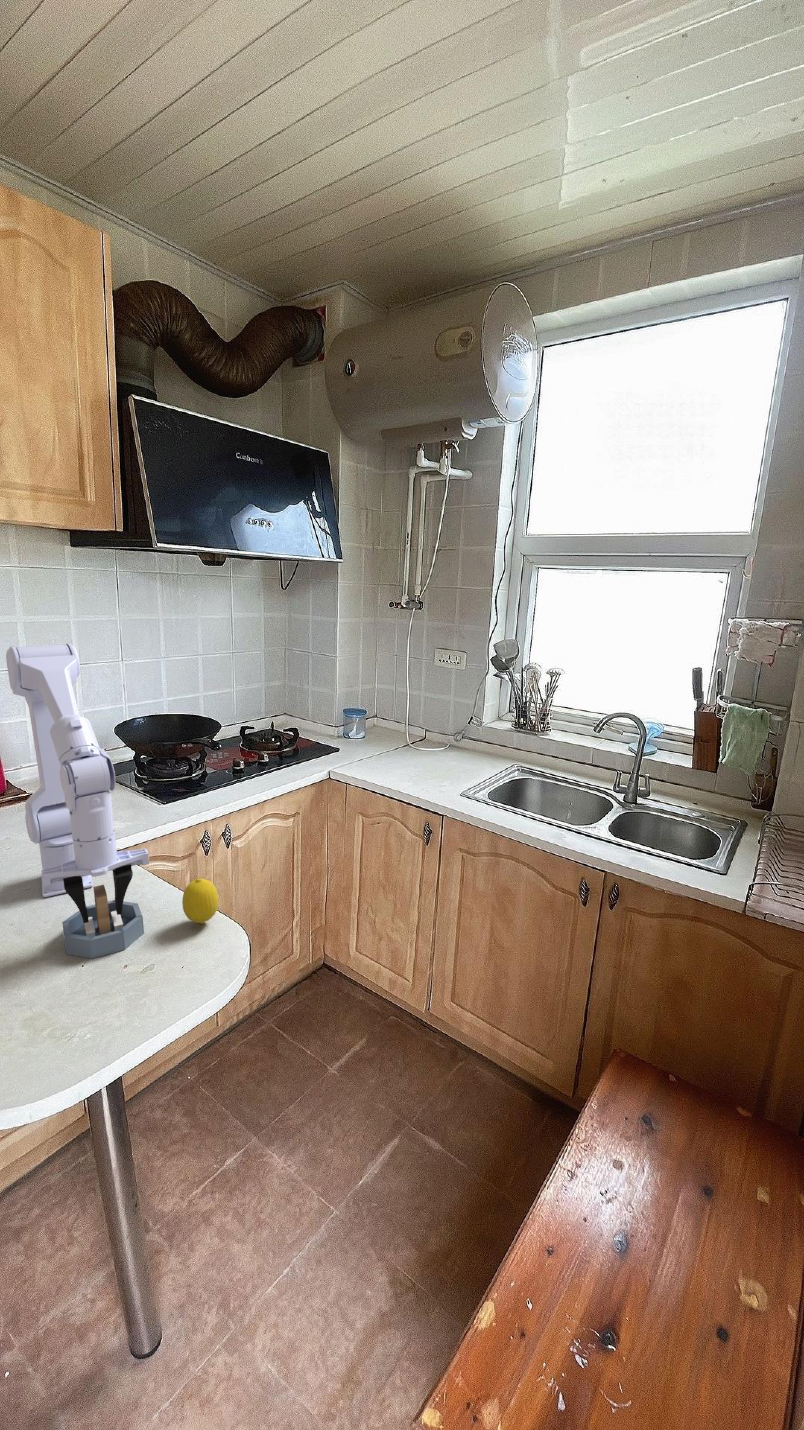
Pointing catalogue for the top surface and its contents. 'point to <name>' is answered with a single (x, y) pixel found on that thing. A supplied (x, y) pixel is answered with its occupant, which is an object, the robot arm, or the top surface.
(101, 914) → the brown wooden plank
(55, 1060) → the top surface
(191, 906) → the lemon
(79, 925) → the octagonal blue tray
